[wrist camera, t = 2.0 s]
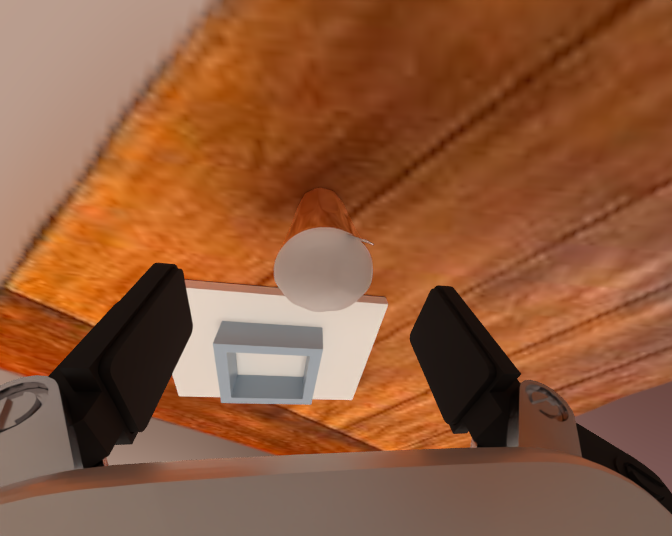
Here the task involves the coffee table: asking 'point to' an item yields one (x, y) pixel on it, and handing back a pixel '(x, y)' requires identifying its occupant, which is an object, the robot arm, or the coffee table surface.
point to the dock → (273, 346)
